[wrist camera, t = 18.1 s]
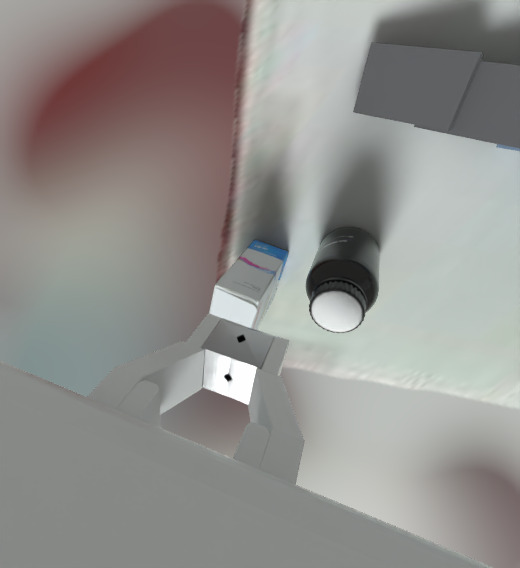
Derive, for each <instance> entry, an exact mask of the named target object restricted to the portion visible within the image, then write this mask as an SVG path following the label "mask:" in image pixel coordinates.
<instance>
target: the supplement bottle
mask: <svg viewBox="0 0 520 568" xmlns="http://www.w3.org/2000/svg"><path fill="white" fill-rule="evenodd" d="M378 291H379V249H378V246H377V243H376V242H375V240H374V239H373V237H372V236H371V235H369V234H368V233H367V232H365V231H363V230H361V229H358V228H354V227H343V228H339V229H336V230H334V231H332V232H331V233H329V234H328V235H327V236H326V237H325V238H324V239H323V241H322V242H321V244H320V246H319V249H318V251H317V254H316V256H315V259H314V261H313V264H312V266H311V269H310V271H309V274H308V277H307V280H306V292H307V296H308V298H309V300H310V304H309V308H310V309H309V311H310V315H311V316H312V319H313V320H314V321H315V323H316V324H318V326H320V327H322V328H323V329H326V330H327V331H331V332H336V333H340V332H341V333H344V332H349V331H352V330H354V329H355V328H357V327H358V326H359V325H361V322H362V321H363V320H364V317H365V313H366V312H367V311H368V310H370V309H371V307H372V306H373V305H374V303H375V302H376V299H377V296H378Z"/></svg>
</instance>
